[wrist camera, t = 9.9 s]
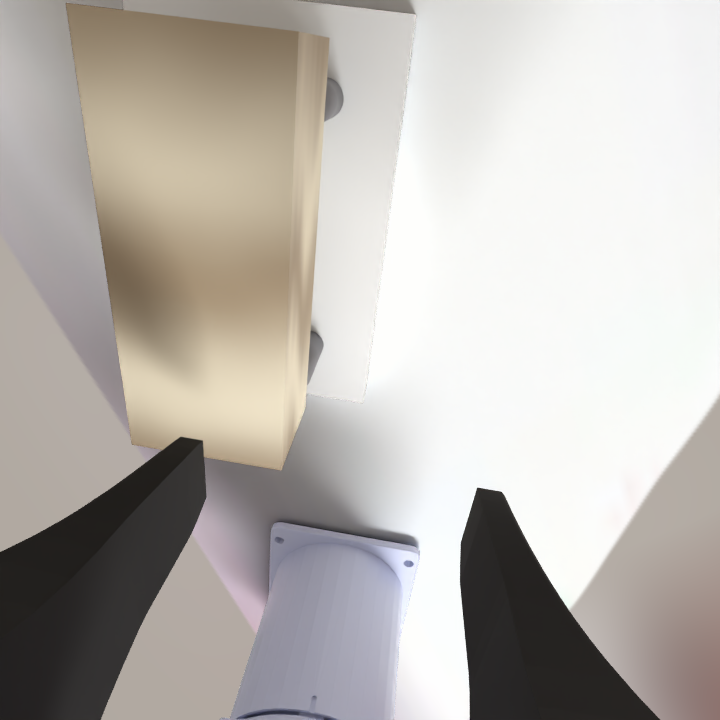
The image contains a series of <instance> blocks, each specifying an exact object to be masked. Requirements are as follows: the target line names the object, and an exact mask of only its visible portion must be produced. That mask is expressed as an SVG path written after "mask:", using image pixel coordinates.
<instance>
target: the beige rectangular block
mask: <svg viewBox="0 0 720 720" xmlns="http://www.w3.org/2000/svg"><path fill="white" fill-rule="evenodd" d="M66 9H67V15H68V22H69V29H70V35H71V42H72V49H73V56H74V62H75V69H76V76H77V82H78V89H79V96H80V102H81V109H82V116H83V122H84V129H85V136H86V142H87V149H88V156H89V162H90V169H91V176H92V182H93V189H94V196H95V202H96V209H97V216H98V222H99V229H100V236H101V242H102V249H103V256H104V262H105V269H106V276H107V282H108V289H109V296H110V302H111V309H112V316H113V322H114V329H115V336H116V342H117V349H118V356H119V362H120V369H121V376H122V382H123V389H124V396H125V402H126V409H127V416H128V422H129V429H130V436H131V442H132V445H137V446H143V447H148V448H154V449H160V450H163V449H165V448H166V447H167V446H168V445H170V444H171V443H172V442H174V441H175V440H177V439H178V438H179V437H186V438H192V439H197V440H203V449H204V457H206V458H212V459H217V460H223V461H229V462H235V463H240V464H246V465H252V466H258V467H263V468H269V469H275V470H282V468H283V465H284V462H285V460H286V457H287V455H288V452H289V449H290V447H291V444H292V442H293V439H294V436H295V434H296V431H297V429H298V426H299V423H300V421H301V418H302V416H303V413H304V410H305V406H306V391H307V376H308V361H309V345H310V330H311V315H312V300H313V284H314V269H315V254H316V238H317V223H318V208H319V193H320V177H321V162H322V147H323V132H324V116H325V101H326V86H327V71H328V55H329V40H330V38H328V37H323V36H318V35H313V34H309V33H304V32H299V31H291V30H283V29H275V28H267V27H258V26H250V25H242V24H234V23H226V22H218V21H209V20H201V19H193V18H185V17H177V16H169V15H161V14H152V13H144V12H136V11H128V10H120V9H112V8H104V7H95V6H87V5H79V4H71V3H66Z"/></svg>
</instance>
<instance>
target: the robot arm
mask: <svg viewBox="0 0 720 720" xmlns="http://www.w3.org/2000/svg"><path fill="white" fill-rule="evenodd" d="M205 499H206V483H205V466H204V449H203V440H197V439H192V438H186V437H179V438H178V439H177V440H175V441H174V442H172V443H171V444H170V445H168V446H167V447H166V448H165V449H163V450H162V451H161V452H159V453H158V454H157V455H155V456H154V457H153V458H151V459H150V460H149V461H147V462H146V463H145V464H144V465H142V466H141V467H140V468H138V469H137V470H136V471H134V472H133V473H132V474H130V475H129V476H127V477H126V478H125V479H123V480H122V481H120V482H119V483H118V484H116V485H115V486H114V487H112V488H111V489H109V490H108V491H106V492H105V493H103V494H102V495H100V496H99V497H97V498H96V499H94V500H93V501H91V502H90V503H88V504H87V505H85V506H84V507H82V508H81V509H79V510H78V511H76V512H74V513H73V514H71V515H69V516H68V517H66V518H64V519H63V520H61V521H59V522H58V523H56V524H54V525H52V526H51V527H49V528H47V529H45V530H43V531H41V532H40V533H38V534H36V535H34V536H32V537H30V538H28V539H26V540H24V541H22V542H20V543H18V544H16V545H14V546H12V547H10V548H8V549H6V550H4V551H2V552H0V720H101V717H102V715H103V712H104V710H105V707H106V705H107V702H108V700H109V697H110V695H111V693H112V690H113V688H114V686H115V683H116V681H117V678H118V676H119V674H120V671H121V669H122V667H123V664H124V662H125V660H126V658H127V655H128V653H129V651H130V648H131V646H132V644H133V642H134V639H135V637H136V635H137V633H138V630H139V628H140V626H141V624H142V622H143V620H144V618H145V616H146V614H147V612H148V610H149V609H150V607H151V605H152V603H153V601H154V600H155V598H156V596H157V594H158V593H159V590H160V589H161V587H162V585H163V584H164V582H165V580H166V578H167V577H168V575H169V573H170V571H171V569H172V568H173V566H174V564H175V562H176V560H177V559H178V557H179V555H180V553H181V552H182V550H183V548H184V546H185V544H186V543H187V541H188V539H189V537H190V535H191V533H192V531H193V529H194V527H195V524H196V522H197V519H198V517H199V515H200V512H201V509H202V507H203V504H204V502H205ZM280 537H281V538H280ZM419 559H420V551H419V549H418V548H416V547H414V546H411V545H405V544H400V543H394V542H389V541H383V540H378V539H372V538H366V537H361V536H355V535H350V534H344V533H339V532H333V531H328V530H322V529H316V528H311V527H305V526H300V525H294V524H289V523H283V522H277V523H274V524H273V526H272V529H271V536H270V572H269V597H268V600H267V603H266V606H265V610H264V613H263V616H262V619H261V622H260V625H259V628H258V632H257V635H256V638H255V641H254V644H253V647H252V651H251V654H250V657H249V660H248V663H247V666H246V669H245V673H244V676H243V679H242V682H241V685H240V688H239V691H238V694H237V698H236V701H235V704H234V707H233V710H232V713H231V717H230V719H229V718H221V719H220V720H394V714H395V699H396V685H397V670H398V655H399V641H400V636H401V632H402V628H403V624H404V620H405V616H406V612H407V607H408V603H409V599H410V595H411V591H412V587H413V583H414V579H415V575H416V571H417V567H418V563H419ZM407 560H409V561H407ZM460 586H461V597H462V608H463V619H464V629H465V639H466V650H467V660H468V670H469V688H470V720H660V719H659V718H658V717H657V716H656V715H655V714H654V713H653V712H652V711H651V710H650V709H649V708H648V706H646V705H645V703H644V702H643V701H642V700H641V699H640V698H639V697H638V696H637V695H636V694H635V693H634V691H633V690H632V689H631V688H630V687H629V686H628V684H627V683H626V682H625V681H624V680H623V679H622V678H621V676H620V675H619V674H618V673H617V672H616V671H615V670H614V668H613V667H612V666H611V665H610V664H609V663H608V661H607V660H606V659H605V658H604V657H603V655H602V654H601V653H600V651H599V650H598V649H597V648H596V646H595V645H594V644H593V643H592V641H591V640H590V639H589V637H588V636H587V635H586V633H585V632H584V631H583V629H582V628H581V627H580V625H579V624H578V623H577V621H576V620H575V618H574V617H573V615H572V614H571V613H570V611H569V610H568V608H567V607H566V605H565V604H564V602H563V601H562V599H561V598H560V596H559V595H558V593H557V592H556V590H555V588H554V587H553V585H552V584H551V582H550V580H549V579H548V577H547V576H546V574H545V572H544V571H543V569H542V567H541V565H540V564H539V562H538V560H537V558H536V557H535V555H534V553H533V551H532V550H531V548H530V546H529V544H528V542H527V540H526V539H525V537H524V535H523V533H522V531H521V529H520V527H519V525H518V523H517V521H516V519H515V517H514V515H513V513H512V511H511V509H510V507H509V504H508V502H507V500H506V498H505V496H504V495H503V493H502V492H499V491H494V490H488V489H482V488H477V491H476V494H475V497H474V501H473V504H472V507H471V511H470V514H469V517H468V521H467V524H466V527H465V531H464V534H463V537H462V541H461V557H460Z"/></svg>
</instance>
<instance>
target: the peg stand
mask: <svg viewBox="0 0 720 720" xmlns="http://www.w3.org/2000/svg"><path fill="white" fill-rule="evenodd" d="M122 2H123V10H128V11H136V12H144V13H152V14H161V15H169V16H177V17H185V18H193V19H201V20H209V21H218V22H226V23H234V24H242V25H250V26H258V27H267V28H275V29H283V30H291V31H299V32H304V33H309V34H313V35H318V36H323V37H328V38H330V40H329V55H328V71H327V86H326V101H325V116H324V132H323V147H322V162H321V177H320V193H319V208H318V223H317V238H316V254H315V269H314V284H313V300H312V315H311V330H310V345H309V361H308V376H307V391H306V394H308V395H314V396H320V397H326V398H332V399H338V400H344V401H351V402H357V403H363V401H364V397H365V392H366V386H367V379H368V371H369V364H370V356H371V349H372V342H373V334H374V327H375V319H376V312H377V305H378V297H379V290H380V283H381V275H382V268H383V260H384V253H385V246H386V238H387V231H388V223H389V216H390V209H391V201H392V194H393V187H394V179H395V172H396V164H397V157H398V150H399V142H400V135H401V127H402V120H403V113H404V105H405V98H406V90H407V83H408V76H409V68H410V61H411V54H412V46H413V39H414V31H415V24H416V15H415V14H408V13H400V12H392V11H383V10H375V9H366V8H358V7H350V6H341V5H333V4H324V3H316V2H308V1H299V0H122Z"/></svg>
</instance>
